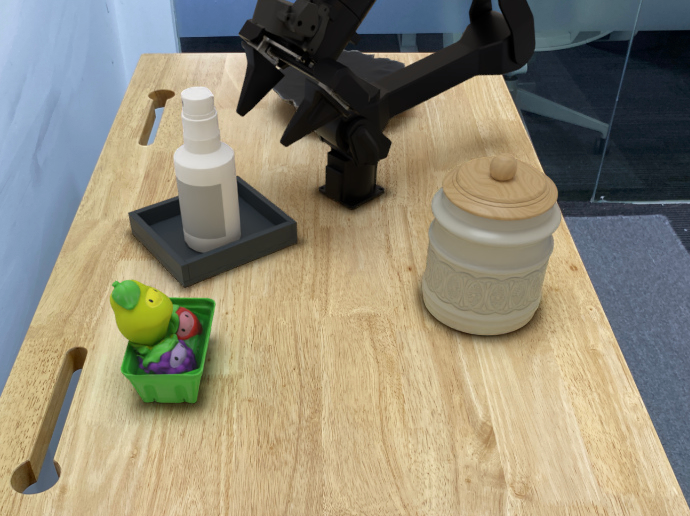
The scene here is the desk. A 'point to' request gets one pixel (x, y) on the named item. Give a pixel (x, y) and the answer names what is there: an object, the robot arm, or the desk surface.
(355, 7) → the robot arm
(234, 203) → the spray bottle
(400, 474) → the desk surface
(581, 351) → the desk surface
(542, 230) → the jar
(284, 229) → the tray
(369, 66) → the bowl
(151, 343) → the fruit basket
